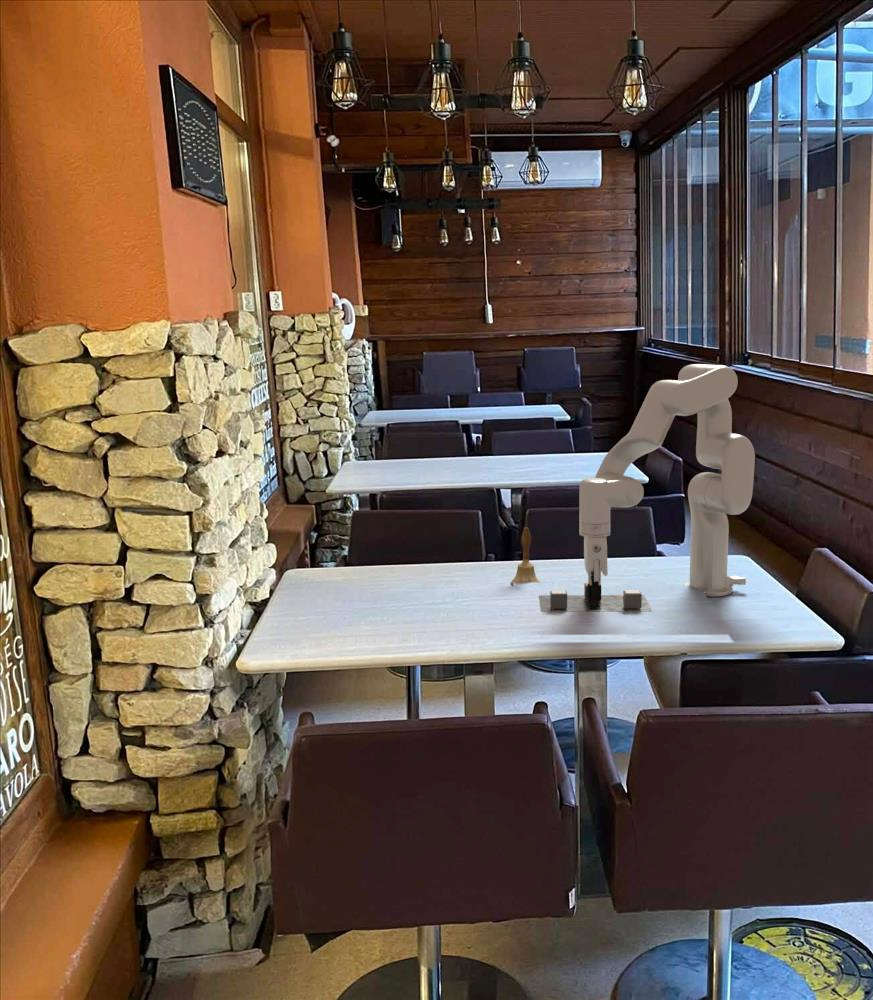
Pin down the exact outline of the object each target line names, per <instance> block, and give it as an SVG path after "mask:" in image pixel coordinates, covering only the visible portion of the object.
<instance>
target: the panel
mask: <svg viewBox="0 0 873 1000" xmlns="http://www.w3.org/2000/svg"><path fill="white" fill-rule="evenodd" d="M538 598H539V599H538V600H539V607H540V612H541V613H551V612H553V613H554V612H555V613H557V612H558V613H560V612H561V613H562V612H563V613H566V612H568V613H574V612H575V613H579V612H580V613H583V612H585V613H586V612H587V613H588V612H589V613H590V612H592V613H593V612H598V613H599V612H603V613H607V612H609V613H611V612H614V613H616V612H620V613H621V612H622V613H623V612H636V613H637V612H652V613H653V609H652V607H651V606H650V604H649V602H648V600H647V597H646V596H645V594H642V605H641V608H625V607H624V605H623V594H612V595H611V594H605V595H604V594H601V601H589V600H585V597H584V595H583V594H581V595H580V594H578V595H577V594H575V595H573V594H572V595H570V594H569V595H568V594H567V608H551V606H550V594H549V595H547V594H546V595H545V594H544V595H538Z"/></svg>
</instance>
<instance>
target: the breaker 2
mask: <svg viewBox="0 0 873 1000" xmlns="http://www.w3.org/2000/svg"><path fill="white" fill-rule="evenodd" d="M622 595H623V605H624V607H625V608H641V605H642V595H643V594H642V592H641V590H639V589H638V590H637V589H624V590H623V594H622Z"/></svg>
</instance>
